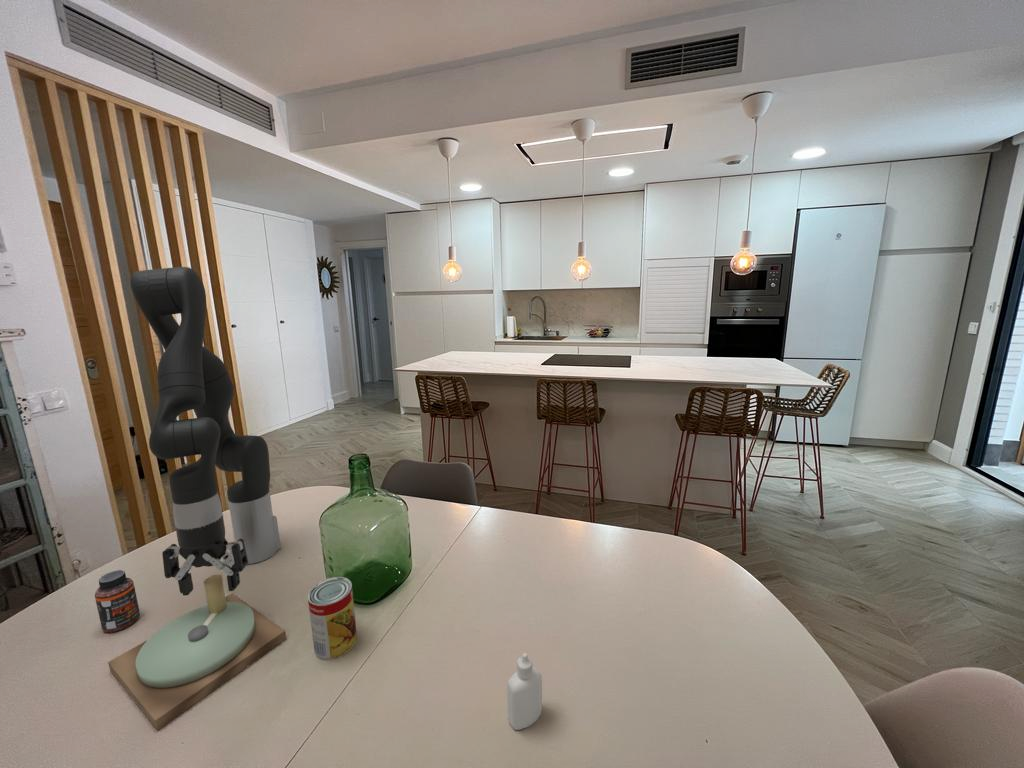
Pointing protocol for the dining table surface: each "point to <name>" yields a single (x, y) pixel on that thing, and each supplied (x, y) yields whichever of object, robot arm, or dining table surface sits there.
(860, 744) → the dining table surface
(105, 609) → the supplement bottle
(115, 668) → the base board
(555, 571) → the dining table surface
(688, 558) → the dining table surface
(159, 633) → the dial
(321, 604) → the canned food
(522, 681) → the eye dropper bottle
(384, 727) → the dining table surface
